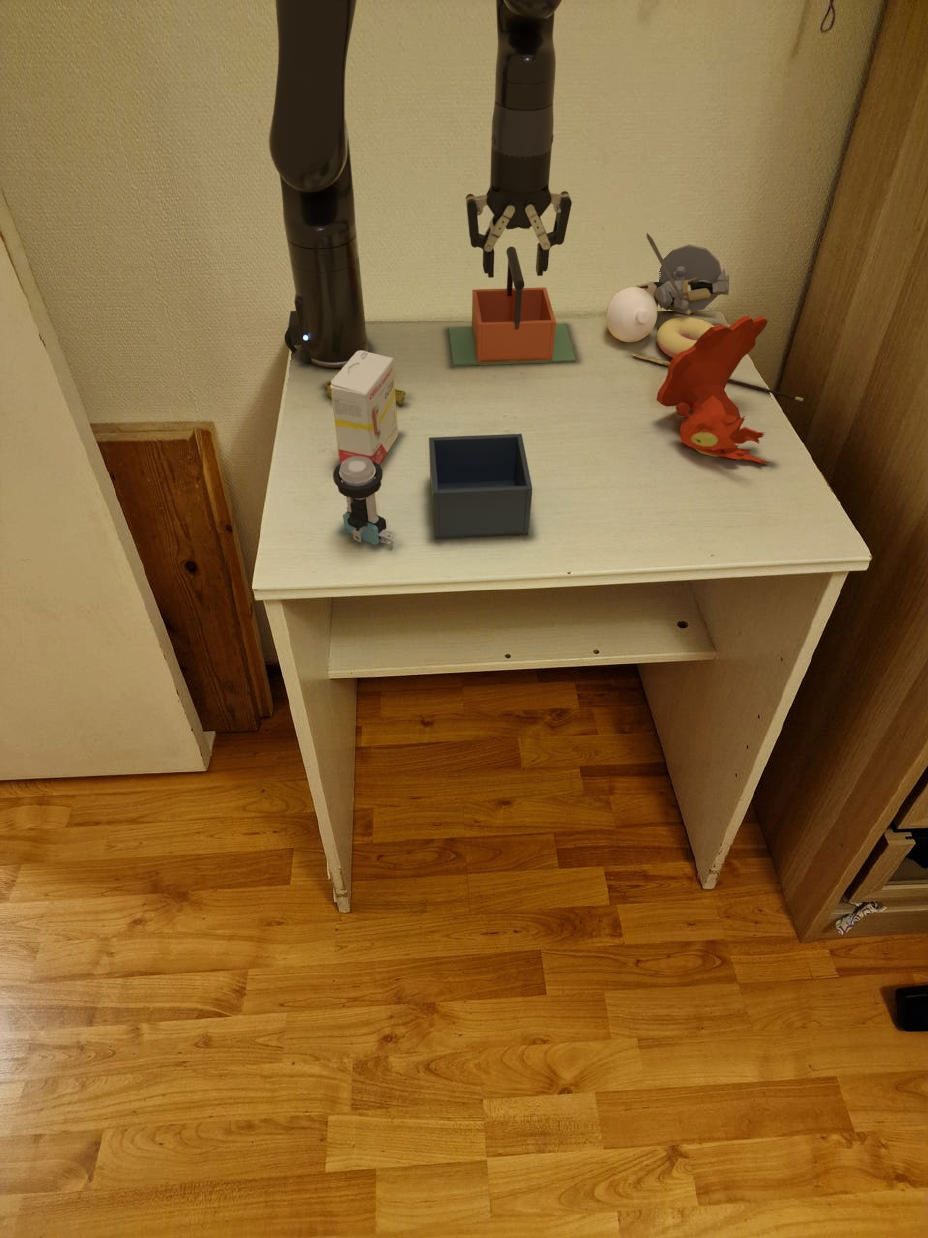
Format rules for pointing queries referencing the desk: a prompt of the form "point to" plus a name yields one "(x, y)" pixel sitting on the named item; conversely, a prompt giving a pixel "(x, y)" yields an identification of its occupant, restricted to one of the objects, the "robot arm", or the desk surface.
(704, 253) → the toy
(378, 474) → the push button
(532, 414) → the desk surface
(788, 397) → the brush
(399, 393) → the key
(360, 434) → the ink box
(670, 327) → the donut
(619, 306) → the spinning top
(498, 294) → the box
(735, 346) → the toy
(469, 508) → the bottom basket
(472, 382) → the desk surface
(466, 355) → the mat
